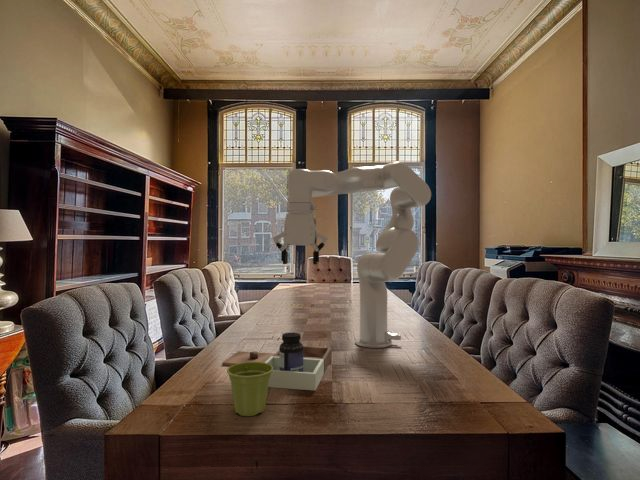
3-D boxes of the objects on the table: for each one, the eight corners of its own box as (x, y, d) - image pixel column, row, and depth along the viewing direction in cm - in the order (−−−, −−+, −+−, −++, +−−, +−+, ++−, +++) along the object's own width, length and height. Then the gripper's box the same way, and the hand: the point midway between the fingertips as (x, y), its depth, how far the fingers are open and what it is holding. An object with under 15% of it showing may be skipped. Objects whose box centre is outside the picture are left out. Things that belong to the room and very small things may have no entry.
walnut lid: (283, 356, 115) (283, 348, 115) (271, 368, 104) (271, 359, 104) (238, 353, 118) (238, 346, 118) (222, 365, 107) (222, 356, 107)
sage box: (323, 374, 100) (323, 359, 100) (315, 390, 88) (315, 373, 88) (271, 370, 102) (271, 356, 102) (256, 386, 91) (256, 370, 91)
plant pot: (230, 401, 82) (230, 361, 82) (273, 400, 83) (273, 360, 83) (222, 421, 73) (223, 376, 73) (271, 420, 73) (272, 375, 74)
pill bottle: (306, 375, 98) (306, 332, 98) (298, 383, 92) (298, 337, 92) (284, 372, 99) (284, 330, 100) (275, 380, 93) (275, 336, 94)
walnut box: (331, 359, 113) (331, 347, 113) (324, 372, 101) (324, 358, 101) (284, 356, 115) (284, 345, 115) (272, 368, 104) (272, 356, 104)
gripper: (329, 210, 120) (329, 263, 119) (277, 210, 123) (277, 263, 122) (325, 207, 112) (325, 265, 112) (270, 208, 115) (269, 264, 115)
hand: (300, 264), depth 117 cm, fingers open, 9 cm apart
